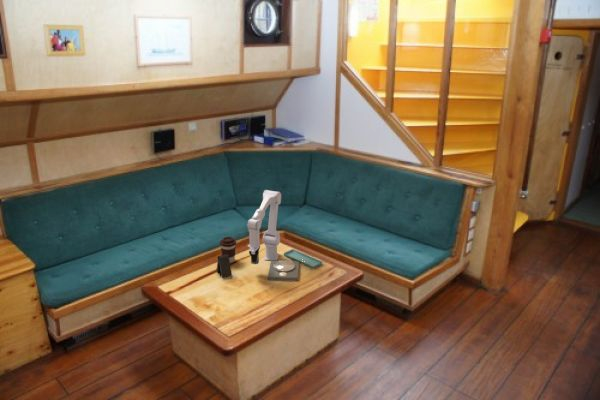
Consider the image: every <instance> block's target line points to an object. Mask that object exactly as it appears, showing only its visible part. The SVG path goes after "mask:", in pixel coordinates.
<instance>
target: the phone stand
mask: <svg viewBox="0 0 600 400" xmlns="http://www.w3.org/2000/svg"><path fill="white" fill-rule="evenodd" d="M216 273H217V274H218V275H219V276H220V277H221V278H227V277H230V276H231V277H232V276H233V274H232V268H231V263H230V261H229V255H227V254H225V255H222V254H221V255H218V256H217V263H216Z"/></svg>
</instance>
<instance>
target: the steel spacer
mask: <svg viewBox="0 0 600 400" xmlns="http://www.w3.org/2000/svg"><path fill="white" fill-rule="evenodd" d="M250 261H251V262H250V263H251V264H252V265H258V264H260V252H259V253H258V255H257V261H256V262H252V258H251V257H250Z"/></svg>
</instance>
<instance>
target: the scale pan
mask: <svg viewBox="0 0 600 400" xmlns="http://www.w3.org/2000/svg"><path fill="white" fill-rule="evenodd" d="M276 261H277V262H275V263H274V264H273V268H274V269H275V270H277V271H281V272H287V271H291V270H293V269H294V268H295V264H294V263H293V262H291V260H287V259H283V260H276Z"/></svg>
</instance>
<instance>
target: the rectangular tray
mask: <svg viewBox="0 0 600 400" xmlns="http://www.w3.org/2000/svg"><path fill="white" fill-rule="evenodd" d="M282 254H283V255H284V257H286V258H289V259H291V260H292V261H298V262H299V264H302V265H303V264H304V266H306V267H308V268H310V269H315V268H318V267H319V266H321V265H322V264H323V262H324V261H322V260H319V259H318V258H314V257H313V256H310V255H307V254H305V253H303V252H301V251H298V250H296V249H293V248H292V249H290V250H288V251H285V252H284V253H282ZM302 259H303V260H302ZM302 261H303V262H302ZM304 261H305V262H304Z"/></svg>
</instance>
